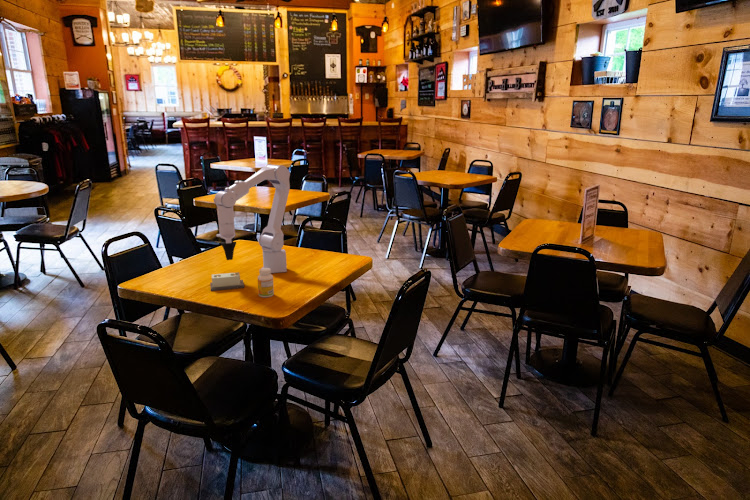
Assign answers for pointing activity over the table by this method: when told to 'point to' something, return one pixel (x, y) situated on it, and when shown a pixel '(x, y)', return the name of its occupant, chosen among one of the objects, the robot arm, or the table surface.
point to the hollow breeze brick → (225, 279)
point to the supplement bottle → (265, 283)
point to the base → (228, 286)
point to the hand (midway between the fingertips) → (229, 257)
